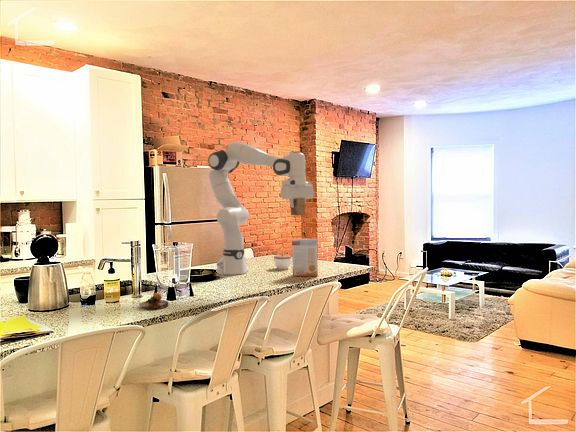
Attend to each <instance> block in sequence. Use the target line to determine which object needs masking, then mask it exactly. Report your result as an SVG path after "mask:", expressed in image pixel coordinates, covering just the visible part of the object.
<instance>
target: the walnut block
mask: <svg viewBox="0 0 576 432" xmlns="http://www.w3.org/2000/svg"><path fill="white" fill-rule="evenodd" d="M293 203H294V204H295V207H294V208H291V207H290V216H297V217H298V216H300V217H301V216H306V202H305V199H294V201H293Z"/></svg>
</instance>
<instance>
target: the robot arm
mask: <svg viewBox="0 0 576 432" xmlns="http://www.w3.org/2000/svg"><path fill="white" fill-rule="evenodd" d="M207 163H208V166H209V167H210V168H211V169H212V170H210V171H209V173H208V177H209V182H210V186H211V189H212V191H213V194H214V196H215V199H216V201H217V202H218V203H219V204H220V205H221V206H222V207H223V208H221V209H220V210H218V212H217V213H216V220H217V222H218V223H219V225H220V227H221V230H222V232H223V238H224V239H223V241H224V249H223V250H222V256H221V258H220V259H218V261H217V262H216V268H215V269H213V270H216V272H217V274H218V275H221V276H223V275H225V276H226V275H231V276H233V275H234V276H235V275H243V274H246V273H247V272H249V268H247V258H246V257H245V248H244V235H243V234H242V232H241V229H240V225H243V224H245V223H246V222H248V220H249V218H250V213H249V210H248V209H247V208H245V206H244V205H243V204H242V203H241V201H240V200H239V198H238V197H237V195H236V193H235V191H234V188H233V186H232V184H231V181H230V179H229V174H231V173H233V171H234V170H236V169H237V168H238V167H239V166H240V163H242V164H244V165H249V166H267V167H270V168H272V171H273V173H274V174H276V175H277V176H279V177H280V176H281V177H289V178H287V179H285V180H282V181H281V185H282V186H281V188H280V198H281V199H282V200H288V202H289V203H290V209H291V208H294V207H295V204H294V203H293V201H294V199H305V203H306V202H307V200H309V199H314V195H315V194H314V193H315V192H314V184H313V183H312V182H311V181H307V179H306V178H307V176H306V169H307V167H306V166H307V165H306V157H305V154H304V153H302V152H298V151H293V150H292V151H290V152H289V153H287V155H285V156H283V157H277V156H273V155H271V154H269V153H266V152H265V151H263V150H261V149H259V148H257V147H255V146H254V145H251V144H248V143H244V142H240V141H232V142H230V143H229V144H228V145H227V149H225V150H223V149H221V150H217V151H214V152H212V153H211V154H210V155H208V159H207ZM216 272H215V273H216Z"/></svg>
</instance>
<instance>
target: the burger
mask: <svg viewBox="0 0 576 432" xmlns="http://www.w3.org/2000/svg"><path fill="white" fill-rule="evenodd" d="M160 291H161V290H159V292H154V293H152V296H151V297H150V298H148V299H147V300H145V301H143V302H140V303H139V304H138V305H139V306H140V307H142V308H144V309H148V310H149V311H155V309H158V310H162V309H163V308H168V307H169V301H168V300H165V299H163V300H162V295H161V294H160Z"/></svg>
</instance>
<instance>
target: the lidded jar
mask: <svg viewBox="0 0 576 432" xmlns="http://www.w3.org/2000/svg"><path fill="white" fill-rule="evenodd" d="M273 261H274V266H275V267H276V268H277V269H278V270H287V269H289V267H290V266H291V263H292V255H290V254H289V255H288V254H284V252H282V253H281V254H277V255H274V256H273Z"/></svg>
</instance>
